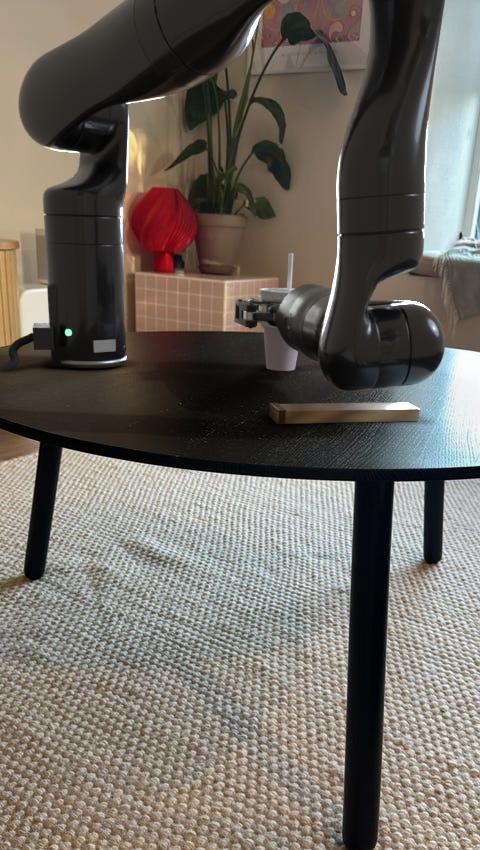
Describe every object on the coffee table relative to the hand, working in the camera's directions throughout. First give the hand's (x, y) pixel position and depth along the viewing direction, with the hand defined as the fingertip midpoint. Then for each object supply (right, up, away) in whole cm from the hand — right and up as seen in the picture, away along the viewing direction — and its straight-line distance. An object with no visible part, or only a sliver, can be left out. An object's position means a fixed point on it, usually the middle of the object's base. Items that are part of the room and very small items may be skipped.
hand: (282, 307), depth 95 cm
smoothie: (0, -7, +2) cm, 8 cm away
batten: (+5, -17, -23) cm, 29 cm away
